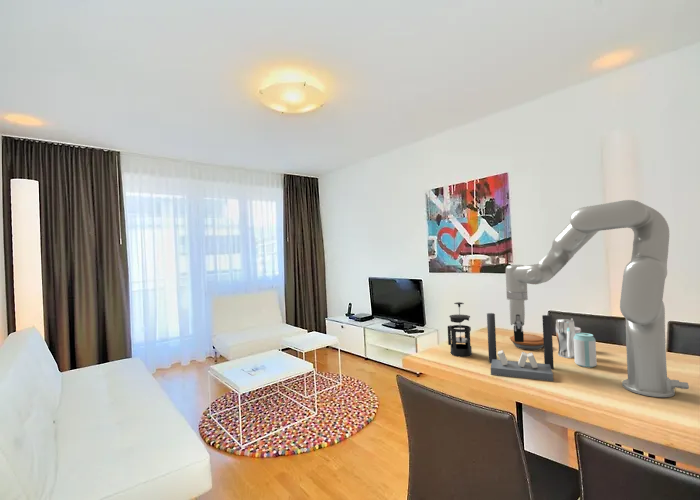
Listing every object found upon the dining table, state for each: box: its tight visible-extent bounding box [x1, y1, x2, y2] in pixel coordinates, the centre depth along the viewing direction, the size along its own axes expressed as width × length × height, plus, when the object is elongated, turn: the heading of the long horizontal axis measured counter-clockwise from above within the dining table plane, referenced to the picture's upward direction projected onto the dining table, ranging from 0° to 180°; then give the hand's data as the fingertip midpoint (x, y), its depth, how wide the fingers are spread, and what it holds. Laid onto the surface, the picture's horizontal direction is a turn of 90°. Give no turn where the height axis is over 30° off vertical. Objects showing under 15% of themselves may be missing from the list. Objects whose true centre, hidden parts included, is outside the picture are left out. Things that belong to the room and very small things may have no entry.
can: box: [574, 332, 598, 369], centre depth 133 cm, size 7×7×12 cm
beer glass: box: [555, 318, 576, 359], centre depth 145 cm, size 7×7×15 cm
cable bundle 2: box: [541, 314, 555, 370], centre depth 132 cm, size 3×3×20 cm
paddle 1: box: [497, 349, 509, 365], centre depth 130 cm, size 2×4×4 cm, turn 155°
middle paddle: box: [518, 351, 528, 368], centre depth 127 cm, size 2×4×4 cm, turn 155°
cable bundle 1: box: [486, 312, 498, 364], centre depth 140 cm, size 3×3×20 cm
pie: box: [509, 333, 544, 351], centre depth 161 cm, size 16×16×5 cm
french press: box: [447, 301, 473, 358], centre depth 154 cm, size 12×9×23 cm
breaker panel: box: [490, 358, 554, 382], centre depth 128 cm, size 20×11×2 cm, turn 65°
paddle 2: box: [526, 352, 538, 368], centre depth 126 cm, size 2×4×4 cm, turn 155°
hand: (518, 338), depth 136 cm, fingers open, 9 cm apart
